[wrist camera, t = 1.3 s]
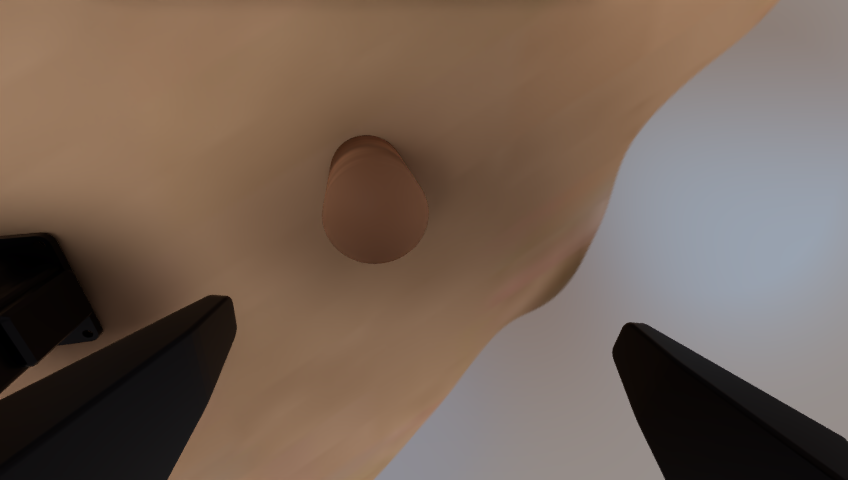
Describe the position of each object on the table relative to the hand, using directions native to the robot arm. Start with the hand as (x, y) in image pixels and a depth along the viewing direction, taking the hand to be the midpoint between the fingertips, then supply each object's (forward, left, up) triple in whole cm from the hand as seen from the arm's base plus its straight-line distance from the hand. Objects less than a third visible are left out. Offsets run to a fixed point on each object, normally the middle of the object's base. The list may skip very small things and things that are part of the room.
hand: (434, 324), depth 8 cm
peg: (-1, 0, -13) cm, 13 cm away
